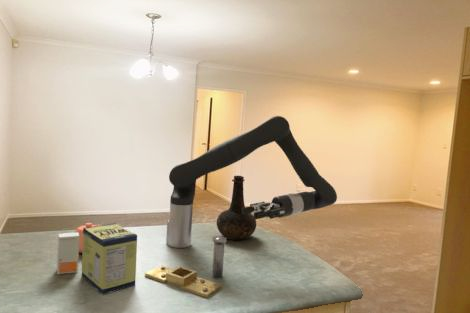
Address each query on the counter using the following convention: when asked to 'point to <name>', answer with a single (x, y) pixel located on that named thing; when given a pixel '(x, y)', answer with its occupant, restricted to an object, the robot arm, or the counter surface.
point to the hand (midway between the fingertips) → (248, 213)
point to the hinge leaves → (184, 280)
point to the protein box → (109, 257)
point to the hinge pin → (218, 256)
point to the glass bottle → (236, 216)
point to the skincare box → (68, 253)
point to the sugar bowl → (82, 235)
